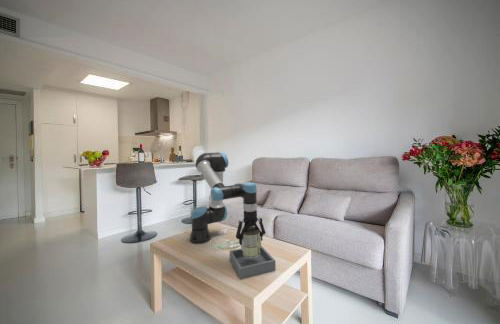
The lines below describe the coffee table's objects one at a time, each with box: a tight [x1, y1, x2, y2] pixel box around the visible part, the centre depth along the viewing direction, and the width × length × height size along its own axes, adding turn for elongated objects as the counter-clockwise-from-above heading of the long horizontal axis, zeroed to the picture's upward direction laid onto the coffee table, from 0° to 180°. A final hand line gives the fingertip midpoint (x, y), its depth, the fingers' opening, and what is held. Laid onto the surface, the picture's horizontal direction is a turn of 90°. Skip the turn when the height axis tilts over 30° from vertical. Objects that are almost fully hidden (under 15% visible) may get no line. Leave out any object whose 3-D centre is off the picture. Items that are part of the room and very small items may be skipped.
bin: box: [229, 245, 276, 280], centre depth 122 cm, size 20×20×6 cm
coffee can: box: [241, 226, 261, 258], centre depth 121 cm, size 10×10×14 cm
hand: (251, 248), depth 121 cm, fingers closed on coffee can, 10 cm apart
